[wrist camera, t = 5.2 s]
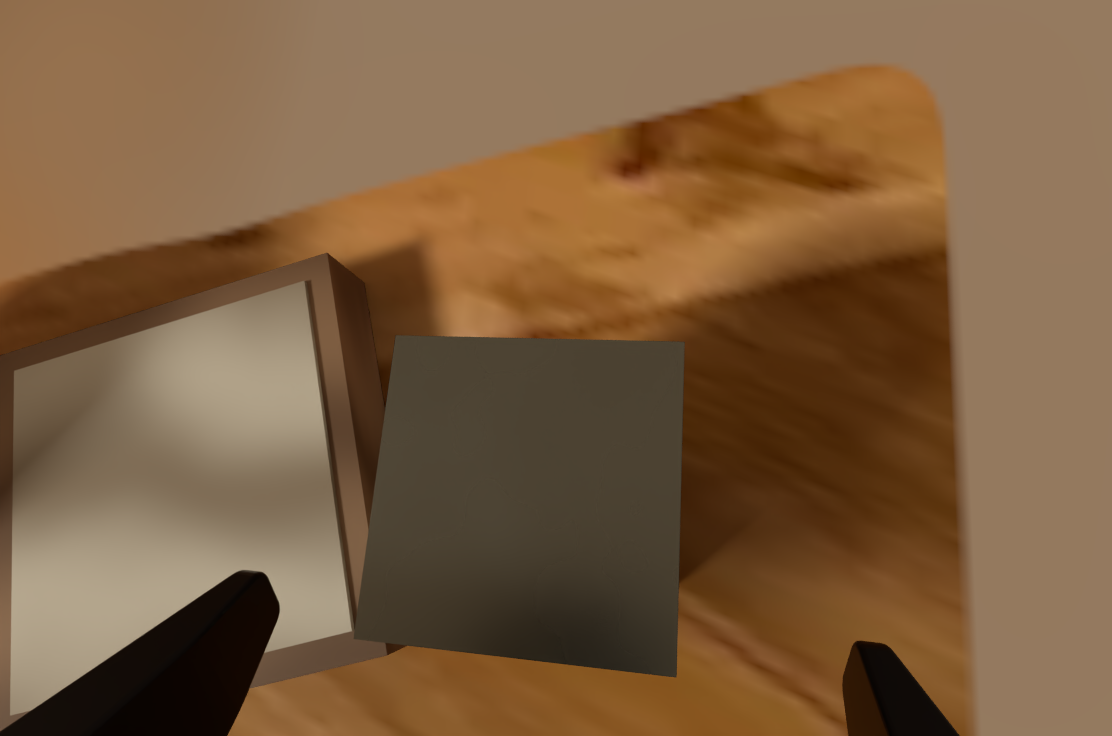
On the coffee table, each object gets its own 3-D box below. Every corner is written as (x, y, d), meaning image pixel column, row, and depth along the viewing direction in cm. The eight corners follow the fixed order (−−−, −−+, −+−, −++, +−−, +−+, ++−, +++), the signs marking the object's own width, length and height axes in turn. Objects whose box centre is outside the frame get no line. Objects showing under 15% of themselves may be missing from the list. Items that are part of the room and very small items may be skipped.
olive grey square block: (668, 593, 18) (676, 677, 8) (513, 578, 18) (353, 638, 9) (673, 434, 19) (684, 341, 9) (526, 427, 19) (395, 335, 10)
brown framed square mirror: (422, 637, 18) (384, 656, 16) (72, 723, 20) (-16, 752, 17) (364, 282, 22) (324, 250, 19) (67, 373, 23) (-7, 355, 20)
